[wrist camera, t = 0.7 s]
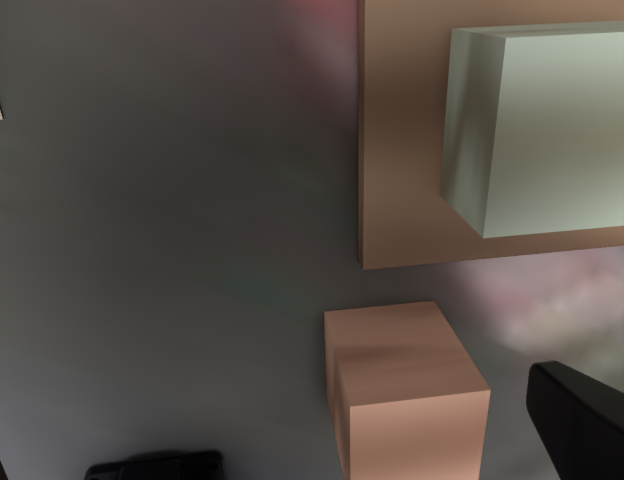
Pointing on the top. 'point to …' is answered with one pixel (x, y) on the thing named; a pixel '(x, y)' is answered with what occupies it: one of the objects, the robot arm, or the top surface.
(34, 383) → the top surface
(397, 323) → the top block
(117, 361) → the top surface
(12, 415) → the top surface
